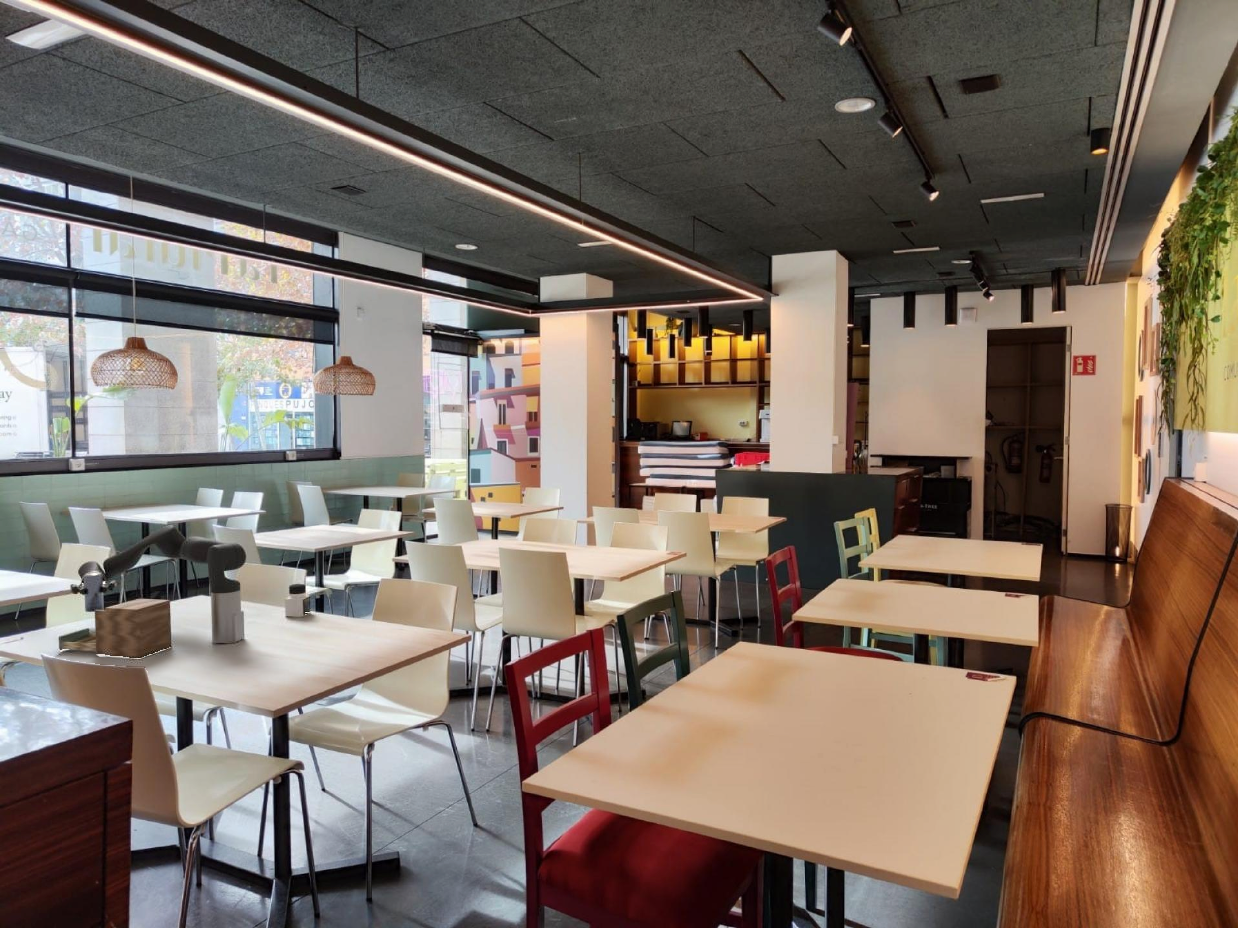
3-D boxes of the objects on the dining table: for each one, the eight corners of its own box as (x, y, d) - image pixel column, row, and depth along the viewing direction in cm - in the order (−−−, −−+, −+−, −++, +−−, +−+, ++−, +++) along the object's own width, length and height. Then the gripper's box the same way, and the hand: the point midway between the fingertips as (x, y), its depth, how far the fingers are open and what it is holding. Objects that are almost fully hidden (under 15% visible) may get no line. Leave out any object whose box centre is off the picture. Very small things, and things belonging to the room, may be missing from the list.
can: (101, 607, 292) (100, 572, 291) (105, 609, 288) (103, 574, 287) (83, 609, 288) (82, 574, 287) (87, 612, 284) (85, 576, 283)
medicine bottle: (303, 617, 322) (302, 586, 322) (285, 617, 322) (284, 586, 322) (310, 612, 329) (310, 582, 329) (292, 612, 329) (291, 582, 329)
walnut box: (171, 647, 280) (170, 600, 279) (138, 659, 266) (136, 609, 265) (130, 645, 283) (129, 598, 282) (96, 656, 270) (94, 607, 269)
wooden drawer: (129, 645, 282) (128, 630, 281) (102, 654, 271) (101, 639, 271) (87, 642, 285) (86, 628, 285) (59, 651, 275) (58, 636, 274)
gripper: (68, 574, 296) (67, 582, 281) (116, 570, 303) (118, 577, 289) (69, 595, 296) (68, 604, 282) (117, 590, 304) (118, 599, 289)
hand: (93, 590), depth 285 cm, fingers closed on can, 5 cm apart
